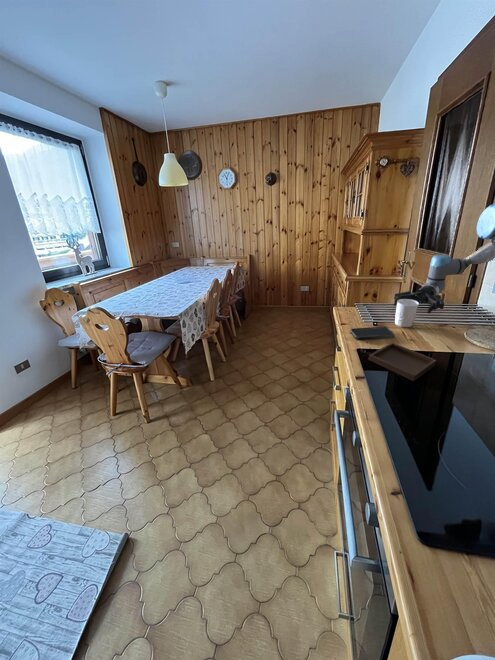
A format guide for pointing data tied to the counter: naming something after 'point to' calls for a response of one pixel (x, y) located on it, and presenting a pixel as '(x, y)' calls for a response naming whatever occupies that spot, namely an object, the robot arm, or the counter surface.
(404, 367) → the tray
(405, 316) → the white cup
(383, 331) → the phone
